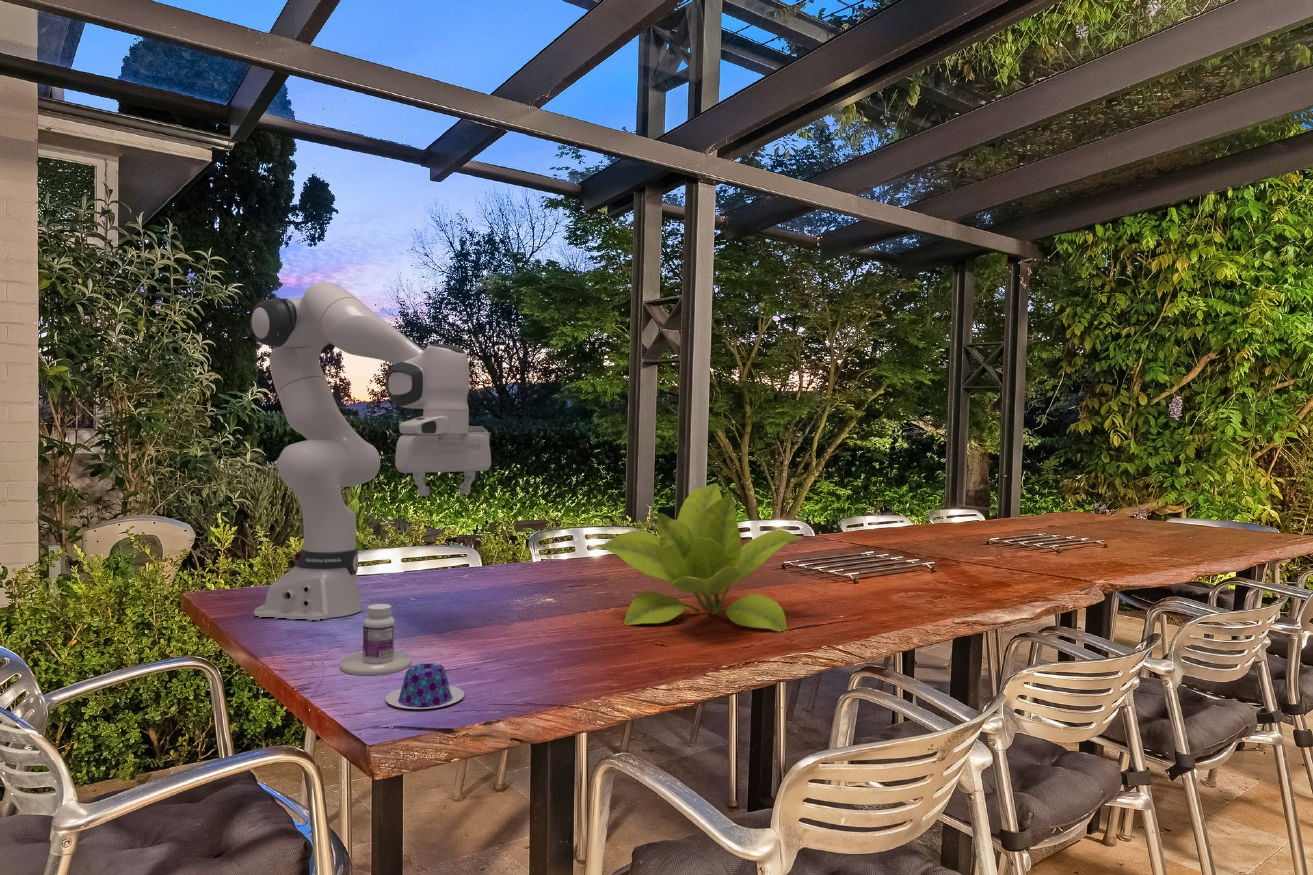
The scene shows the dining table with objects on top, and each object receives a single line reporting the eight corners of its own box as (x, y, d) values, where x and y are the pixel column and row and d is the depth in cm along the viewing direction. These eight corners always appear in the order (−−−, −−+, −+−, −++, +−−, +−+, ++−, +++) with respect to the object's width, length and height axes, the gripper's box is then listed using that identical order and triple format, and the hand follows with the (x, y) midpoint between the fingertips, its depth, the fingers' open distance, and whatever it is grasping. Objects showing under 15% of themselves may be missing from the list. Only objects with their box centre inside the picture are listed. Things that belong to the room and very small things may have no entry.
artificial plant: (593, 638, 197) (564, 544, 180) (692, 526, 223) (675, 434, 206) (749, 709, 174) (733, 608, 157) (839, 574, 200) (833, 475, 183)
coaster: (330, 675, 143) (330, 669, 143) (352, 655, 155) (352, 650, 155) (402, 675, 144) (402, 669, 144) (418, 656, 156) (418, 651, 156)
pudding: (415, 685, 140) (415, 653, 140) (478, 694, 136) (479, 661, 136) (369, 707, 129) (369, 673, 129) (436, 717, 125) (437, 682, 125)
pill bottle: (365, 655, 152) (367, 602, 152) (396, 655, 152) (397, 602, 152) (359, 664, 146) (360, 609, 146) (391, 664, 147) (392, 609, 147)
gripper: (479, 425, 177) (478, 491, 177) (391, 424, 162) (390, 495, 162) (498, 426, 173) (496, 493, 173) (409, 424, 158) (407, 498, 158)
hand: (444, 494), depth 167 cm, fingers open, 8 cm apart
